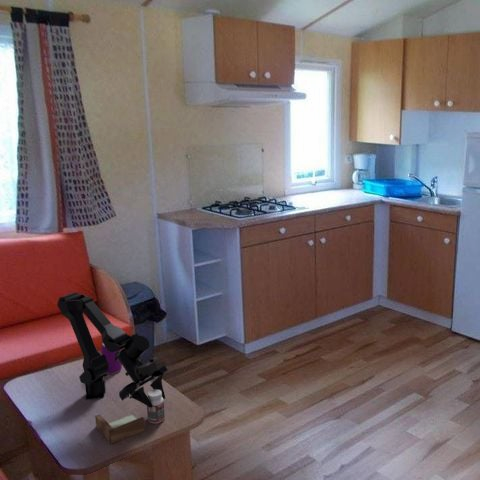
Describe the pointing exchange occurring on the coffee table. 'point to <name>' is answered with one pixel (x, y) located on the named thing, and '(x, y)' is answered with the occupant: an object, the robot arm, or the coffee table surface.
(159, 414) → the pill bottle
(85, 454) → the coffee table surface
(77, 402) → the coffee table surface
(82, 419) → the coffee table surface
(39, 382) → the coffee table surface
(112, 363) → the beverage can
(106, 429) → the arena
